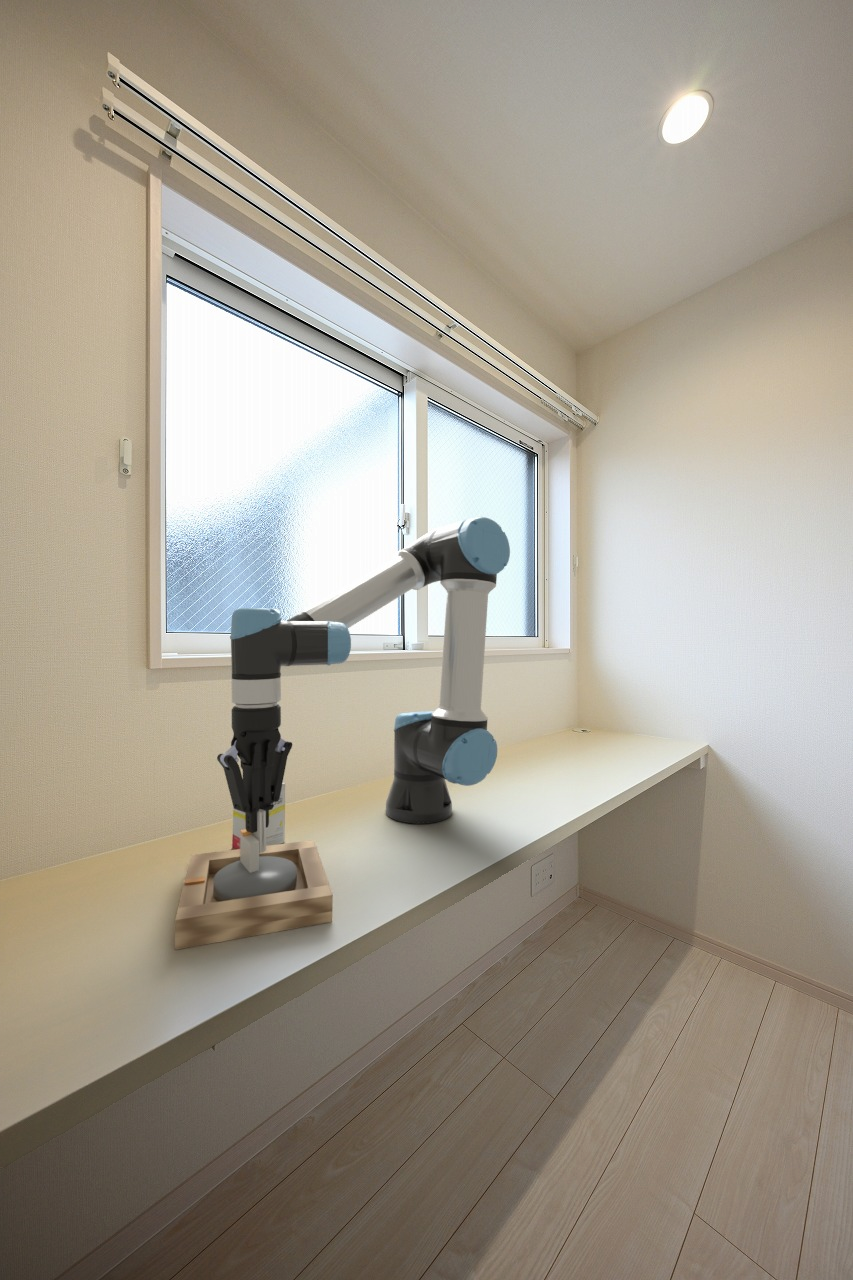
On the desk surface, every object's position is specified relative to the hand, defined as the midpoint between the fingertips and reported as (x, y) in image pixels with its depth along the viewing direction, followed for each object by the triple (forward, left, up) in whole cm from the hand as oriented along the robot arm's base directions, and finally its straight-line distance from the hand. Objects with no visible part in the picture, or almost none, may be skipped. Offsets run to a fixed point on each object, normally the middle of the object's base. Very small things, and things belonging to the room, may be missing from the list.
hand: (257, 849), depth 82 cm
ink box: (-1, -15, -6) cm, 16 cm away
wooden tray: (0, +5, -6) cm, 7 cm away
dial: (0, +5, -4) cm, 6 cm away
